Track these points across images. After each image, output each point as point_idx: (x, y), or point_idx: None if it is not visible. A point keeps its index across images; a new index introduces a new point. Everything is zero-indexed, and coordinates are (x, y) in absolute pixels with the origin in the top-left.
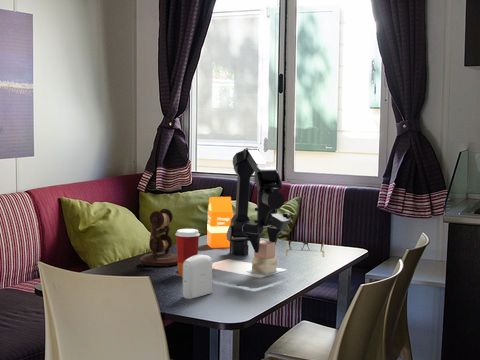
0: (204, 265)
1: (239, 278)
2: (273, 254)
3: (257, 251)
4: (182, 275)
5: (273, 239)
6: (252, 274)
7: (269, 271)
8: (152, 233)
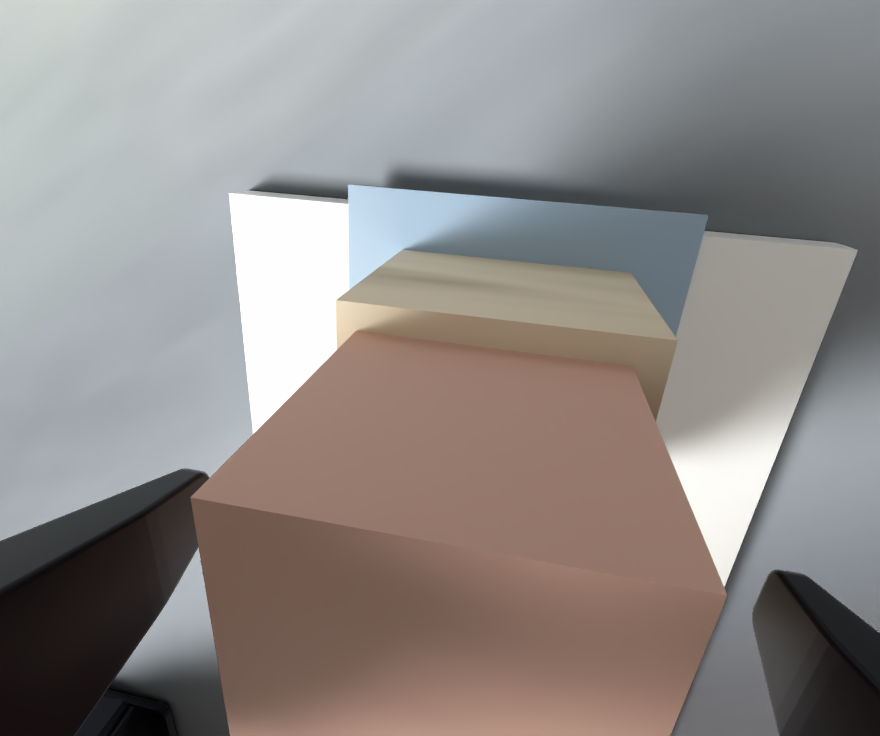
0: None
1: (816, 480)
2: (385, 355)
3: (828, 597)
4: None
5: (28, 645)
6: (713, 408)
7: (558, 270)
8: None
